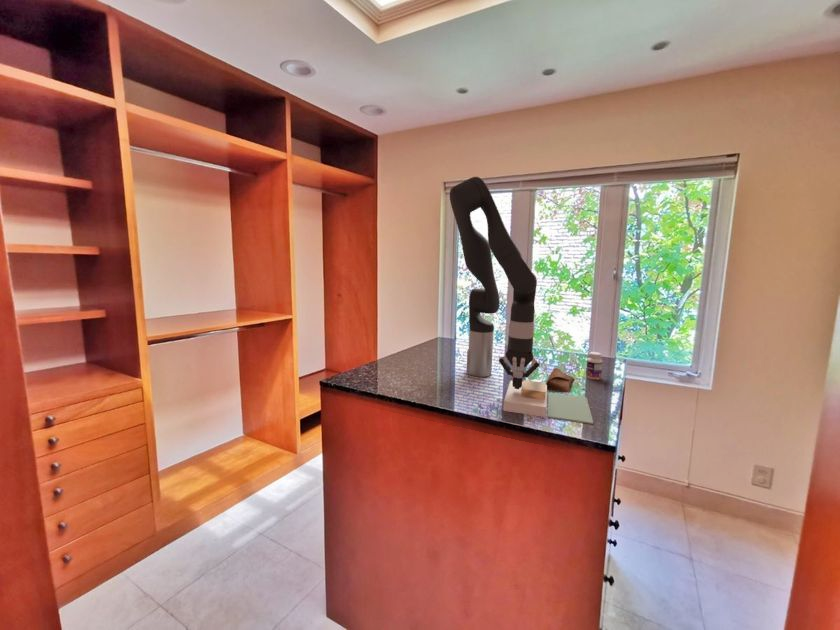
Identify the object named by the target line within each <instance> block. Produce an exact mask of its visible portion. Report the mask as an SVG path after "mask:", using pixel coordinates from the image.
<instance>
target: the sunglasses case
mask: <svg viewBox="0 0 840 630" xmlns="http://www.w3.org/2000/svg"><path fill="white" fill-rule="evenodd" d="M574 380H575V378H574V377H573V376H571V375H570V374H567V373H565V372H564V371H562V370H561V369H559V368H557V367H555V368H553V370H552V371H551V373H550V374H549V376H548V379H547V380H546V382H545V383H546V385H547V391H548V390H549V391H555V392H563V393H568V394H569V393H571V388H572V387H571V386H572V384H573V382H574Z"/></svg>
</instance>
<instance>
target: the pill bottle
mask: <svg viewBox="0 0 840 630" xmlns="http://www.w3.org/2000/svg"><path fill="white" fill-rule="evenodd" d="M601 357H602V353H601V352H597V351H590V352H589V357H587V359H586V369H585V377H586V378H588V379H591V380H595V379H596V380H601V378H602V373H603V372H602V371H603V363H604V362H603V359H602V358H601Z"/></svg>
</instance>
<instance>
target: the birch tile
mask: <svg viewBox="0 0 840 630" xmlns="http://www.w3.org/2000/svg"><path fill="white" fill-rule="evenodd" d="M522 382H523V384H522V389H521V397H526V398H533V399H540V400H545V394H546V382H541V381H533V380H527V379H524V380H523V379H522Z"/></svg>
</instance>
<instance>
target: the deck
mask: <svg viewBox="0 0 840 630" xmlns="http://www.w3.org/2000/svg"><path fill="white" fill-rule="evenodd" d="M522 384H523V381H522ZM514 388H515V387H513V380H510V381H509V384H508V387H507V390H506V394H505V396H504V400H503V407H502V408H503V409H502V411H503V412H510V413H516V414H522V415H530V416H537V417H544V418H546V417H547V406H548V389H547V385H546V394H545V400H540V399H533V398H526V397H521V389H522V387H521V388H519V389H514Z"/></svg>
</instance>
